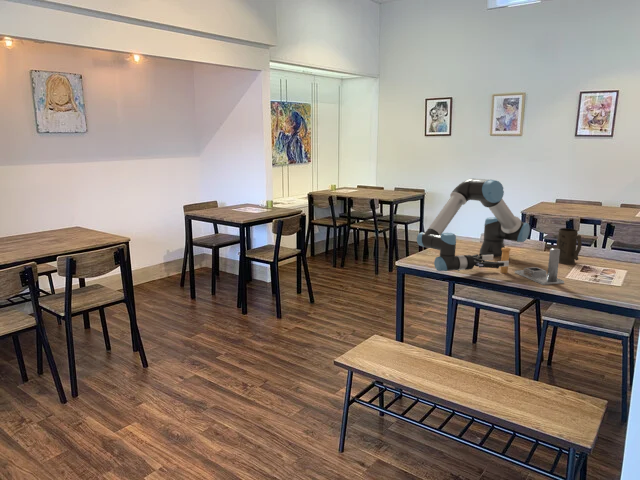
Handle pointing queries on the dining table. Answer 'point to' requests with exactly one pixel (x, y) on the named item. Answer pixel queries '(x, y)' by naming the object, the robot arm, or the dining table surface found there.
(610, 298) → the dining table surface
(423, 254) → the dining table surface
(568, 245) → the beer stein
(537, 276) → the grey upright stand
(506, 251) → the orange cylinder
